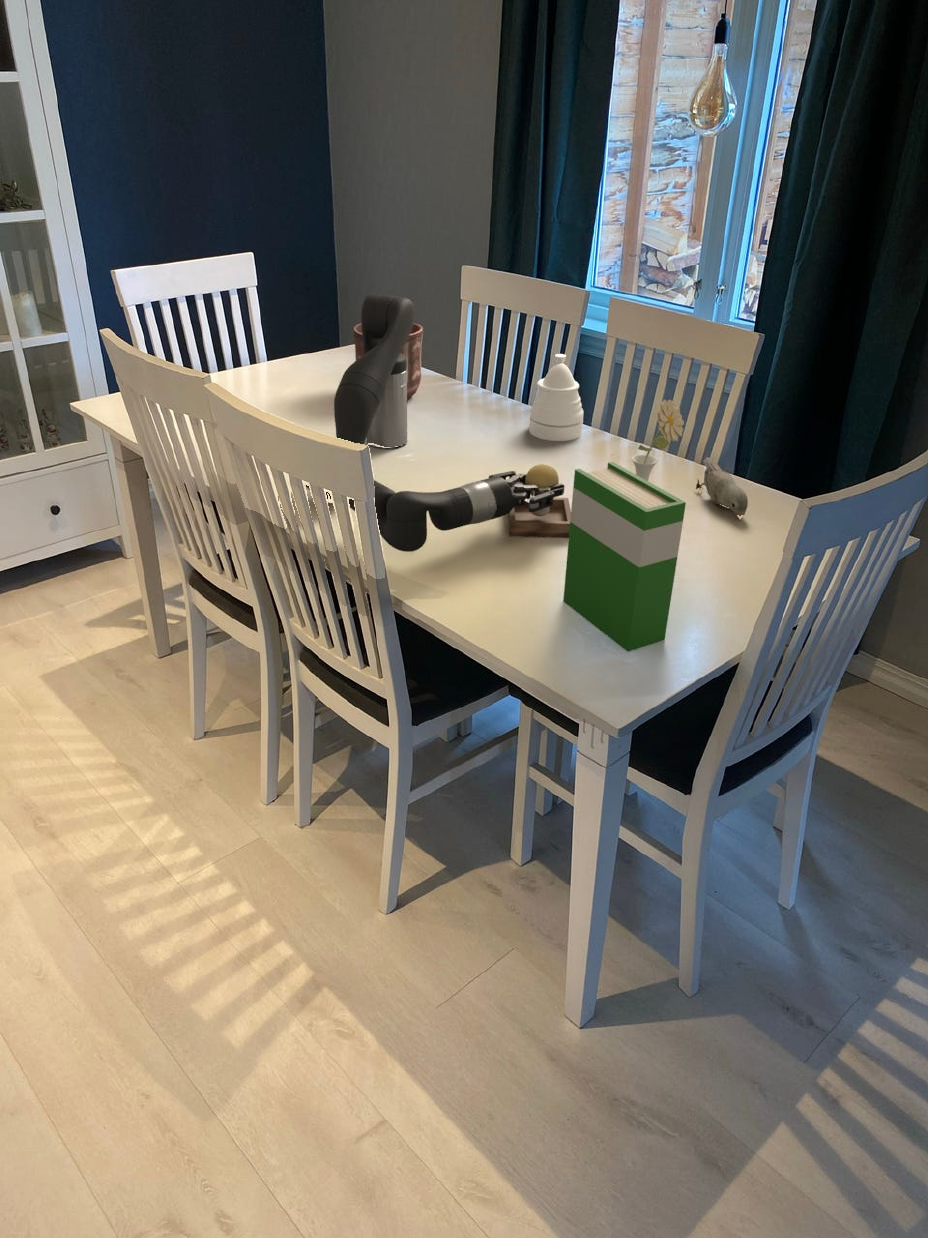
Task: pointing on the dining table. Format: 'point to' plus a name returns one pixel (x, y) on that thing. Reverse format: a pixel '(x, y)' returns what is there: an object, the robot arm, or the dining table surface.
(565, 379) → the honey pot
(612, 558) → the hardback book
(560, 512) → the walnut tray
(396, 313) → the robot arm
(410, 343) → the pottery
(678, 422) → the flower in vase
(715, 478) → the decorative bird
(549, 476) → the light bulb
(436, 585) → the dining table surface
